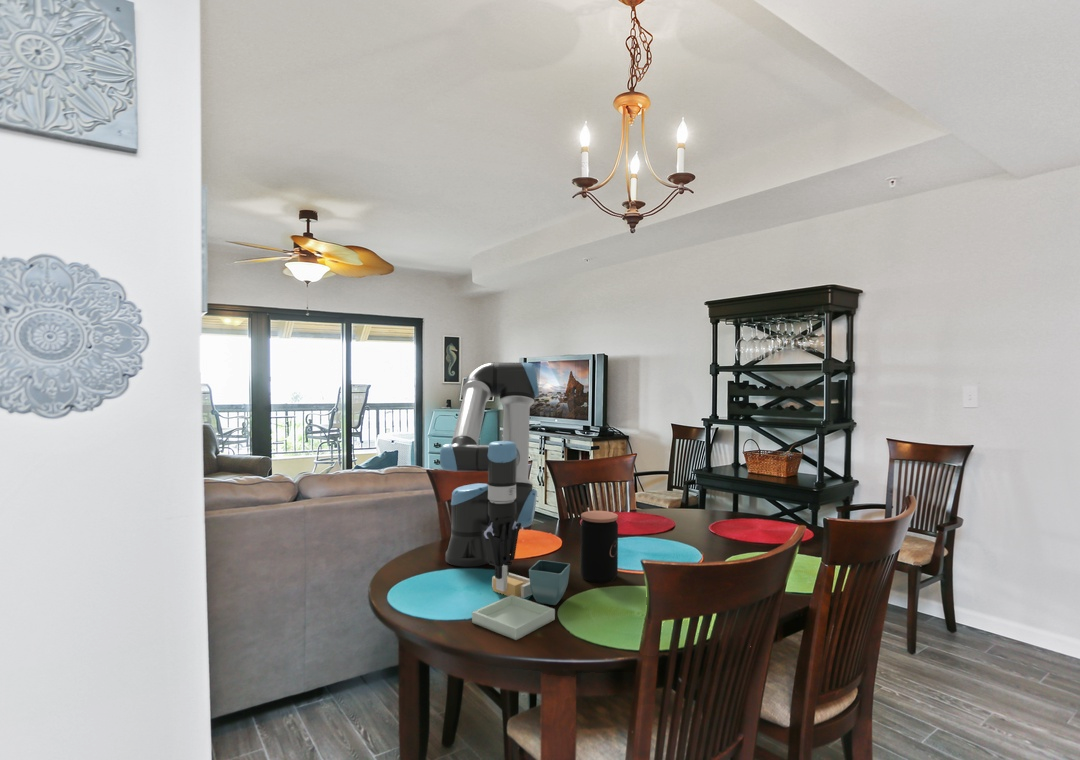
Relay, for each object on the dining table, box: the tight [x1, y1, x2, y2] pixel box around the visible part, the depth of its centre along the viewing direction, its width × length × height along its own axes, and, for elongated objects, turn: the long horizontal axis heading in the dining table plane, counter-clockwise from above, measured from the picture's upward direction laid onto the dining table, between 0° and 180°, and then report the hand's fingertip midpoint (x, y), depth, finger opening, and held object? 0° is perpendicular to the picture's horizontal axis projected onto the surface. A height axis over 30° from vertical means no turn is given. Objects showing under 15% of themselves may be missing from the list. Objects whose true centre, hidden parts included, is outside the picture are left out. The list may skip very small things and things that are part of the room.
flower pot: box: [528, 559, 571, 606], centre depth 147 cm, size 9×9×9 cm
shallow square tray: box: [471, 595, 556, 641], centre depth 134 cm, size 14×14×2 cm
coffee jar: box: [580, 510, 619, 584], centre depth 164 cm, size 11×11×18 cm
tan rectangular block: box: [492, 577, 524, 598], centre depth 152 cm, size 8×4×4 cm, turn 50°
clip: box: [491, 572, 533, 599], centre depth 154 cm, size 11×6×3 cm, turn 51°
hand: (501, 589), depth 150 cm, fingers closed
